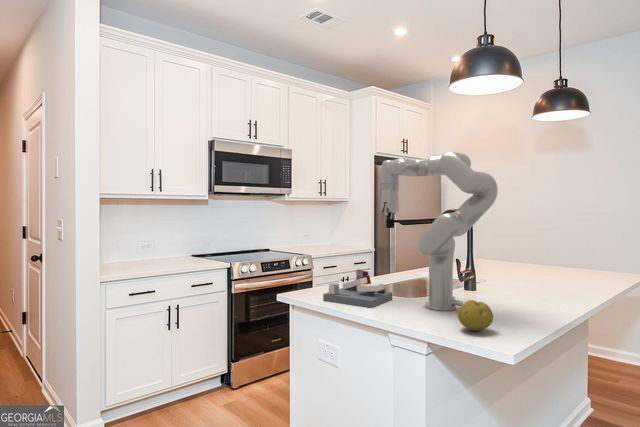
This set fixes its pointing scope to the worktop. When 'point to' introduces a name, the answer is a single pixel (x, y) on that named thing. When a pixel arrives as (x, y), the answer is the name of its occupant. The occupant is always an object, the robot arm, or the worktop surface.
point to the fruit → (475, 315)
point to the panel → (358, 297)
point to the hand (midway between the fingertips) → (390, 227)
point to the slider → (333, 288)
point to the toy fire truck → (363, 275)
